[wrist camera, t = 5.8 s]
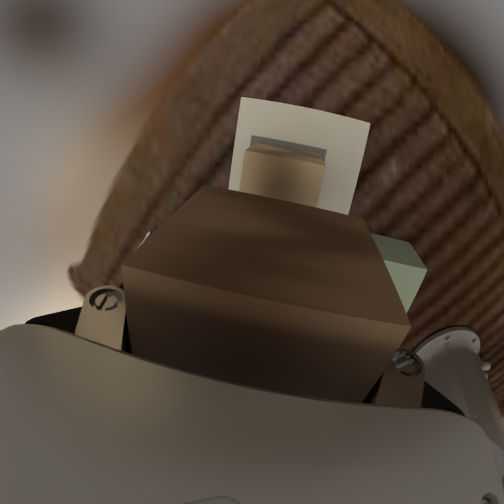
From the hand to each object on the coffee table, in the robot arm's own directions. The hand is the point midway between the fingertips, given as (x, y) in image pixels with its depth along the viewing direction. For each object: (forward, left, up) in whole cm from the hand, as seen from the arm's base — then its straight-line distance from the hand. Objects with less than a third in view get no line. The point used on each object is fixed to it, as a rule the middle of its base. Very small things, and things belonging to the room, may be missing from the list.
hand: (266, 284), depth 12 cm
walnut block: (0, 0, -1) cm, 1 cm away
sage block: (-12, +7, -20) cm, 24 cm away
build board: (-1, 0, -20) cm, 20 cm away
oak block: (0, 0, -18) cm, 18 cm away
